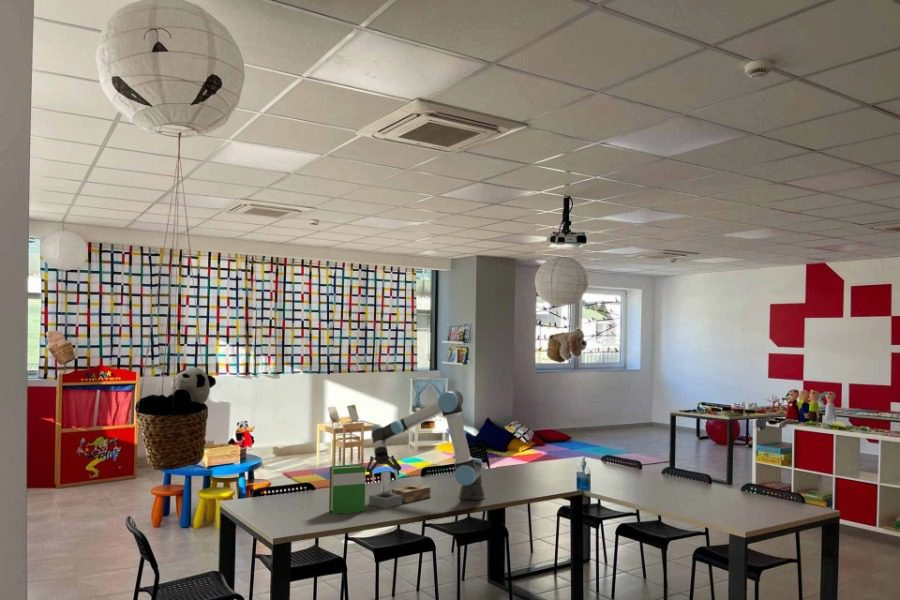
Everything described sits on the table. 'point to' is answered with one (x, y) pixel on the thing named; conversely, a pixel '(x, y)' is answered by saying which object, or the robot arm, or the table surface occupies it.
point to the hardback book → (347, 489)
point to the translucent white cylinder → (385, 484)
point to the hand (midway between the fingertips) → (385, 481)
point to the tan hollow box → (412, 492)
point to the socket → (385, 500)
